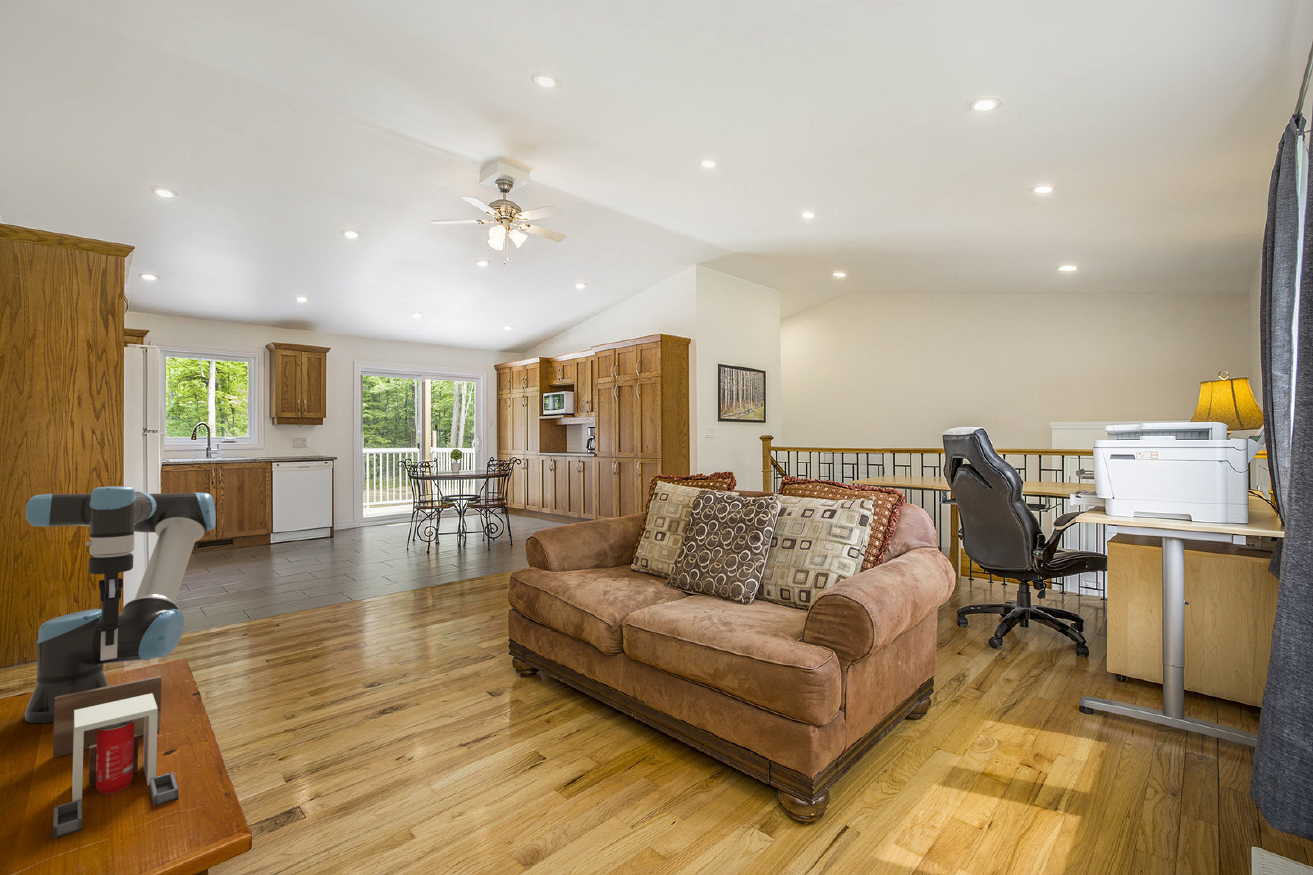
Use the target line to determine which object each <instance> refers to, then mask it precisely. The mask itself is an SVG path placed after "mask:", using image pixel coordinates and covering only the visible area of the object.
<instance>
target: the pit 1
mask: <svg viewBox="0 0 1313 875" xmlns="http://www.w3.org/2000/svg"><path fill="white" fill-rule="evenodd" d="M82 805H83V803H81V799H80V800H76V801H73V802H72V801H71V802H67V803H63V804H59V805H57V806H54V807H53V822H52V823H53V825H52V839H53V840H55V839H57V838H61V837H64V836H67V835H70V834H73V833H76V832H80V831H82V829H83V811H82V810H83V807H82Z"/></svg>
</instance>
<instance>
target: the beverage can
mask: <svg viewBox="0 0 1313 875" xmlns="http://www.w3.org/2000/svg"><path fill="white" fill-rule="evenodd" d="M133 758H134V723H133V720H129V721H125V722H120V723H116V724H112V725H108V726H104V727H99V730H98V732H97V756H96V784H95V789H96V790H97V791H98V794H100V795H109V794H114V793H118V792H120V791H122V790H125V789H126V788H128V787H129V786H130V785H131V782H132V780H133V778H134V773H133Z"/></svg>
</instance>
